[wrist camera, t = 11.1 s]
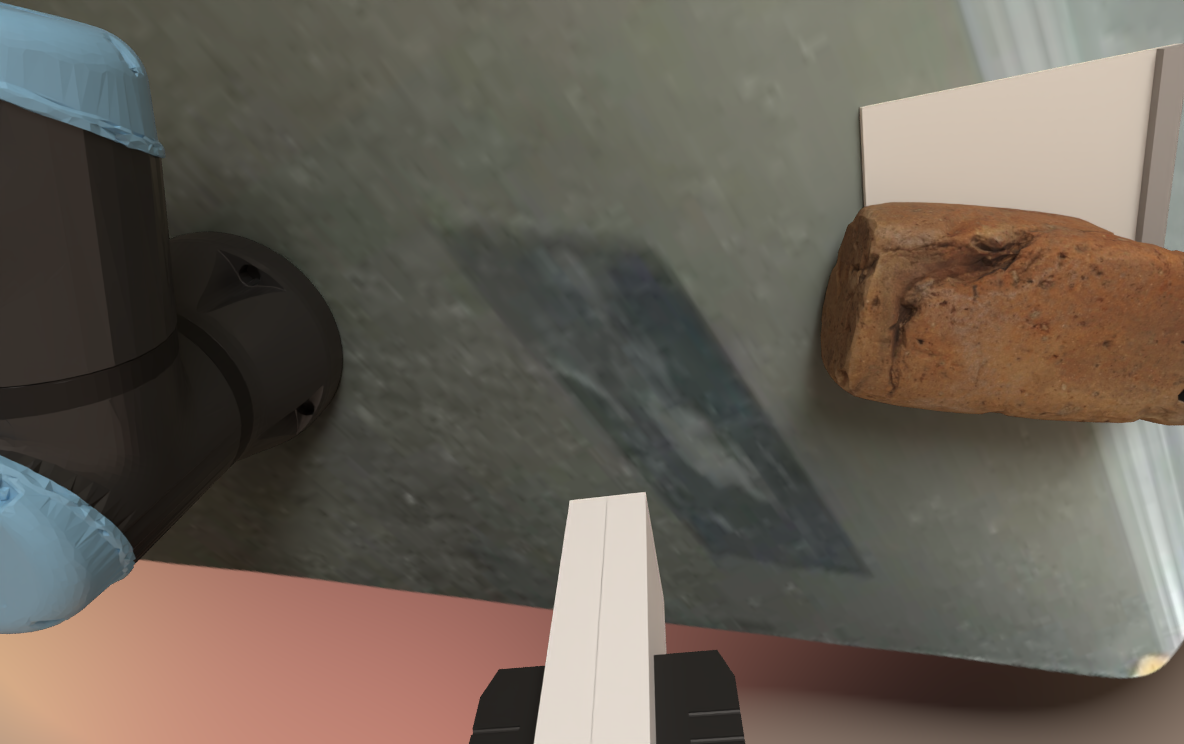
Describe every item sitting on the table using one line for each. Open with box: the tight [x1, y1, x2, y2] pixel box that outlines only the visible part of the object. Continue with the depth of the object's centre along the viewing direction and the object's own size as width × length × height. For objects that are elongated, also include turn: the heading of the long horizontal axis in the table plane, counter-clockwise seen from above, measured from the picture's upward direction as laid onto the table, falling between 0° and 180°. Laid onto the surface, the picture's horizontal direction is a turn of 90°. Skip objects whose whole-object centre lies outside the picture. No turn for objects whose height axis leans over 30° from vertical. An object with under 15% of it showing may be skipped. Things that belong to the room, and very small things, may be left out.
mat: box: [860, 44, 1184, 248], centre depth 40 cm, size 16×16×1 cm
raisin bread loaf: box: [821, 202, 1184, 425], centre depth 39 cm, size 11×8×20 cm
